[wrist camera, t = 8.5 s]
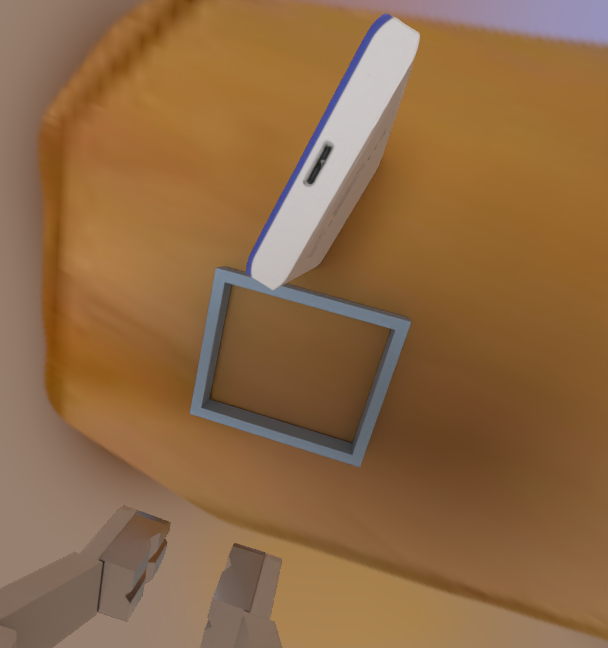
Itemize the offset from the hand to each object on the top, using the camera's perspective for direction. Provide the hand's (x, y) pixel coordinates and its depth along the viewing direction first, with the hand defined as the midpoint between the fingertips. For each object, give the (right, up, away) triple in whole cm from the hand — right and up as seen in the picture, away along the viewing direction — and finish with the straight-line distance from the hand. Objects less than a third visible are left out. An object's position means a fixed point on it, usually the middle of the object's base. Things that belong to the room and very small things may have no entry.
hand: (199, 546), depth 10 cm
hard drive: (+5, +14, +12) cm, 20 cm away
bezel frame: (+2, +4, +15) cm, 16 cm away
